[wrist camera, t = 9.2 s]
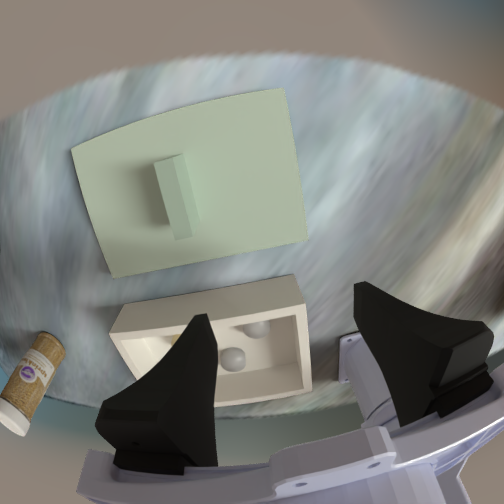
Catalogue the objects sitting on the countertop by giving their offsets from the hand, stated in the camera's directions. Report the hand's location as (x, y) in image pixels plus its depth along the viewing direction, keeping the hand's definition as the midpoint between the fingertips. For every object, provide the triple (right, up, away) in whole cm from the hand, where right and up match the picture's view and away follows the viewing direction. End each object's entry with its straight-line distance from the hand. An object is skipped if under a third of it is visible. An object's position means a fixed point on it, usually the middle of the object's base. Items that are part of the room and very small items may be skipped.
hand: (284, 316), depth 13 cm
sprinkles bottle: (-27, -9, +14) cm, 31 cm away
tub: (-5, -5, +13) cm, 15 cm away
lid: (-7, +8, +8) cm, 13 cm away
